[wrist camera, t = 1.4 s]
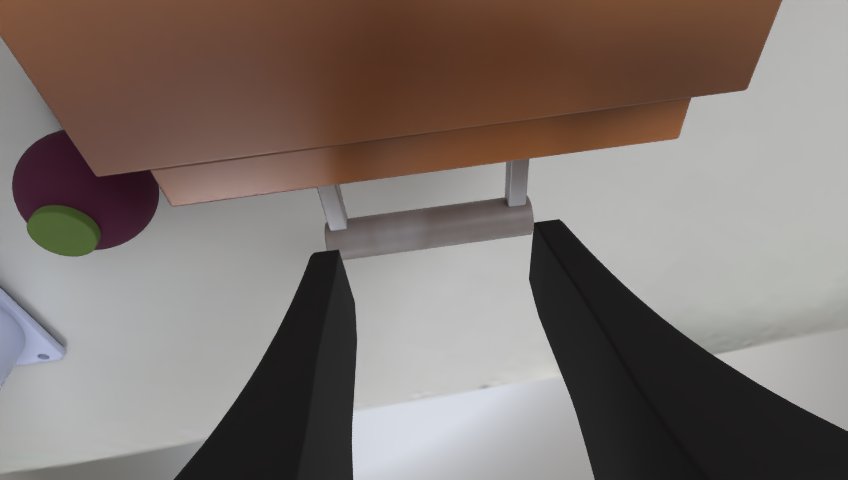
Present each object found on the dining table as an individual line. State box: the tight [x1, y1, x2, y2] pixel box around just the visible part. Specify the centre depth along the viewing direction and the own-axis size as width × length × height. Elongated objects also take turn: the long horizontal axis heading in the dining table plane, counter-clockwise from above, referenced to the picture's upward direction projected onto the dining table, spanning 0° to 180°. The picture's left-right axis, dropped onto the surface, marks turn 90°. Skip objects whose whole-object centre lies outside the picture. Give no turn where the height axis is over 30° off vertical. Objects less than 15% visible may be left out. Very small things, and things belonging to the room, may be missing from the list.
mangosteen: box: [12, 130, 159, 256], centre depth 18 cm, size 4×4×5 cm
